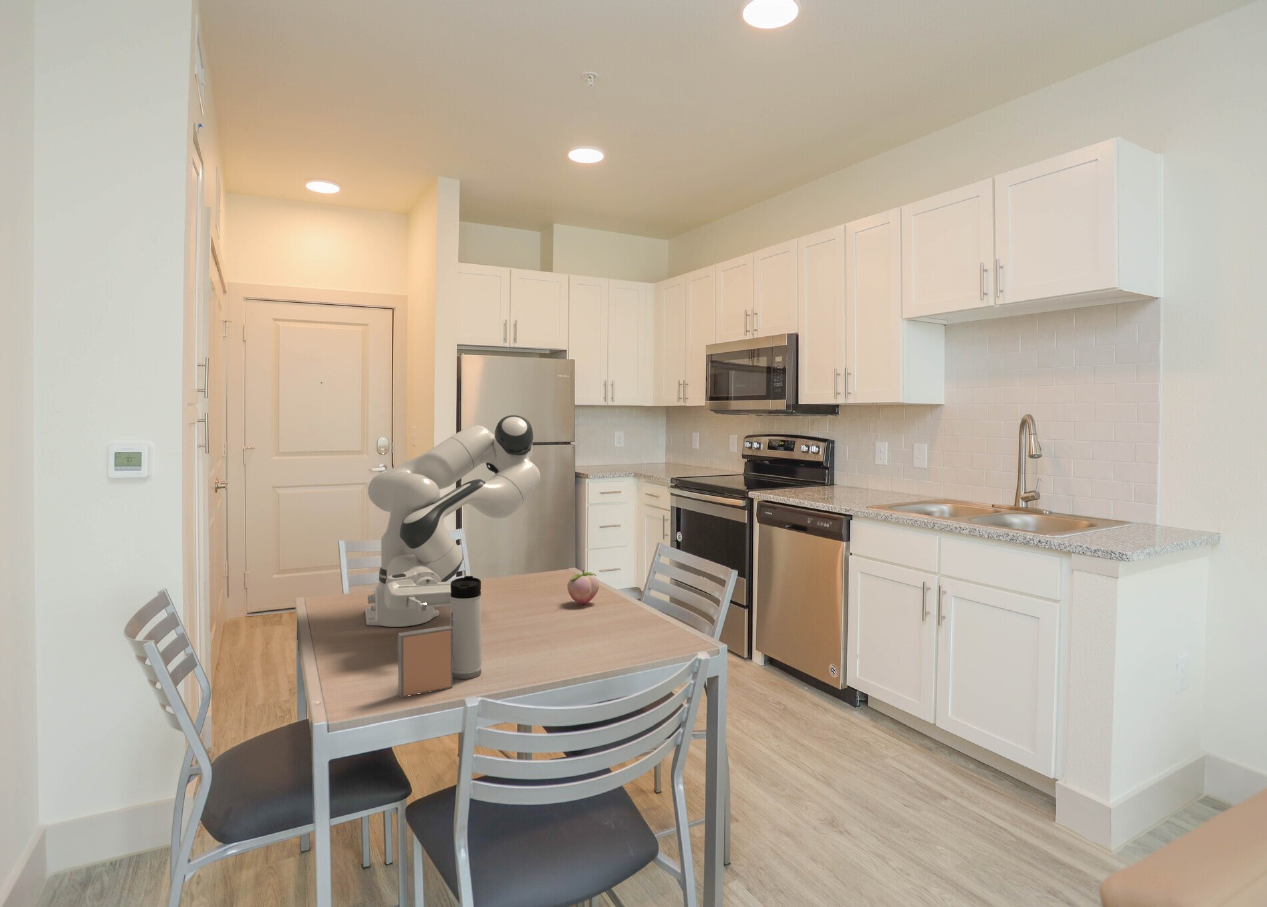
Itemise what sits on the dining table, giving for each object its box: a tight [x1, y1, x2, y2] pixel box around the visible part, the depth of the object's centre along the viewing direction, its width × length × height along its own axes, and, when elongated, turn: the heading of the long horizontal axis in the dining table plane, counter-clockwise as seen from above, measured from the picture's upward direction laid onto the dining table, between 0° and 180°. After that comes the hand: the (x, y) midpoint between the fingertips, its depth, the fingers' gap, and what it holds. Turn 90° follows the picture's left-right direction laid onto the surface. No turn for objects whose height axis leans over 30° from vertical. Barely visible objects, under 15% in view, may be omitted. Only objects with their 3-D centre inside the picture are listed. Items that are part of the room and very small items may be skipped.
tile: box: [397, 625, 453, 698], centre depth 141 cm, size 2×10×12 cm, turn 123°
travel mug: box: [449, 575, 482, 680], centre depth 150 cm, size 6×7×20 cm
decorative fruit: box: [567, 569, 600, 605], centre depth 207 cm, size 9×8×10 cm
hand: (444, 606), depth 158 cm, fingers open, 8 cm apart
